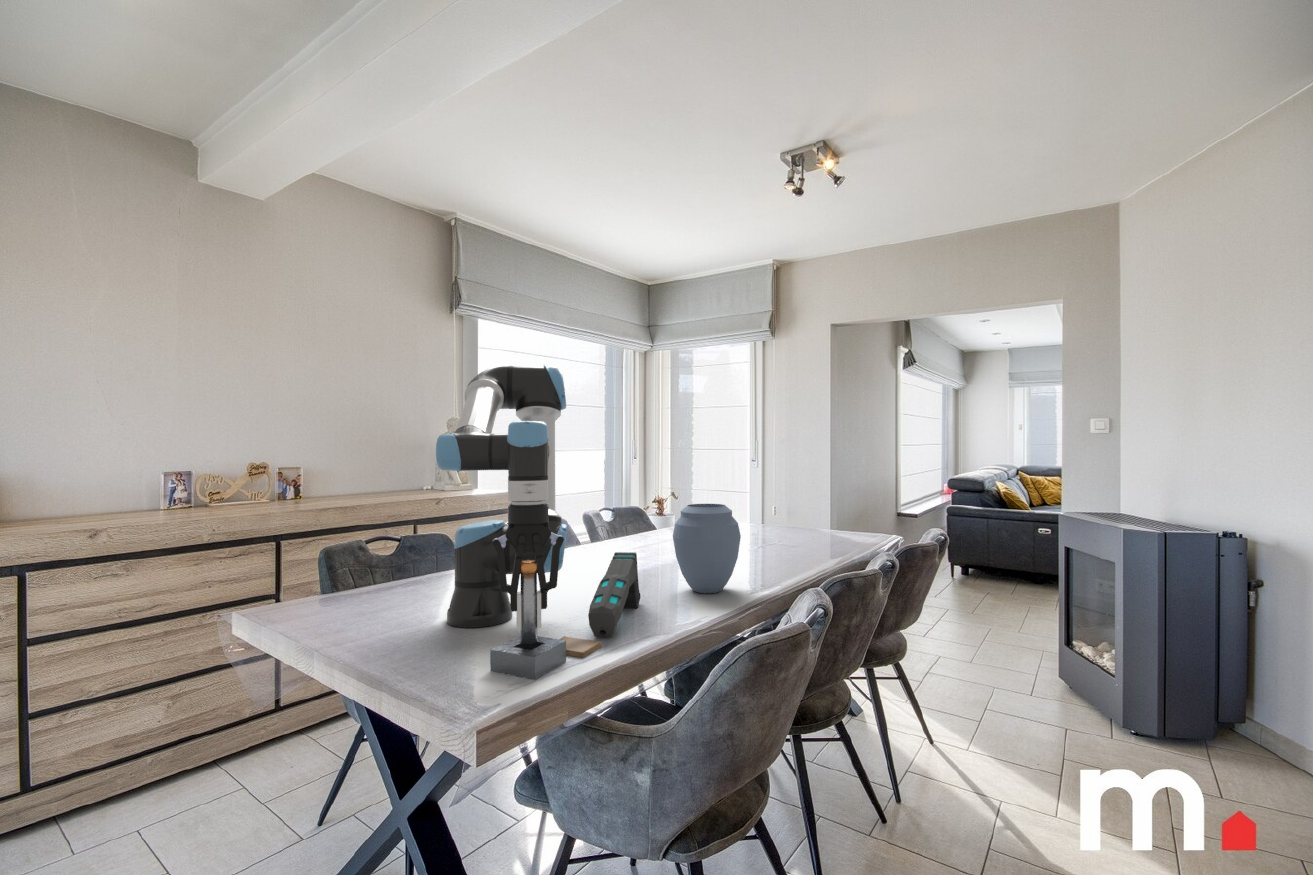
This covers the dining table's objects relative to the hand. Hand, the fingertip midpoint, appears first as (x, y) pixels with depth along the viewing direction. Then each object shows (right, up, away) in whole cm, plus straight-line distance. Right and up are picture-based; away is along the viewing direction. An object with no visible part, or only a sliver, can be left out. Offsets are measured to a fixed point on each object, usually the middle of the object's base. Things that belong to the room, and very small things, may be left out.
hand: (528, 626), depth 112 cm
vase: (+39, -8, +58) cm, 70 cm away
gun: (+15, -8, +30) cm, 34 cm away
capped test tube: (0, -3, 0) cm, 3 cm away
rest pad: (+7, -8, +9) cm, 14 cm away
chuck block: (0, -7, 0) cm, 7 cm away
